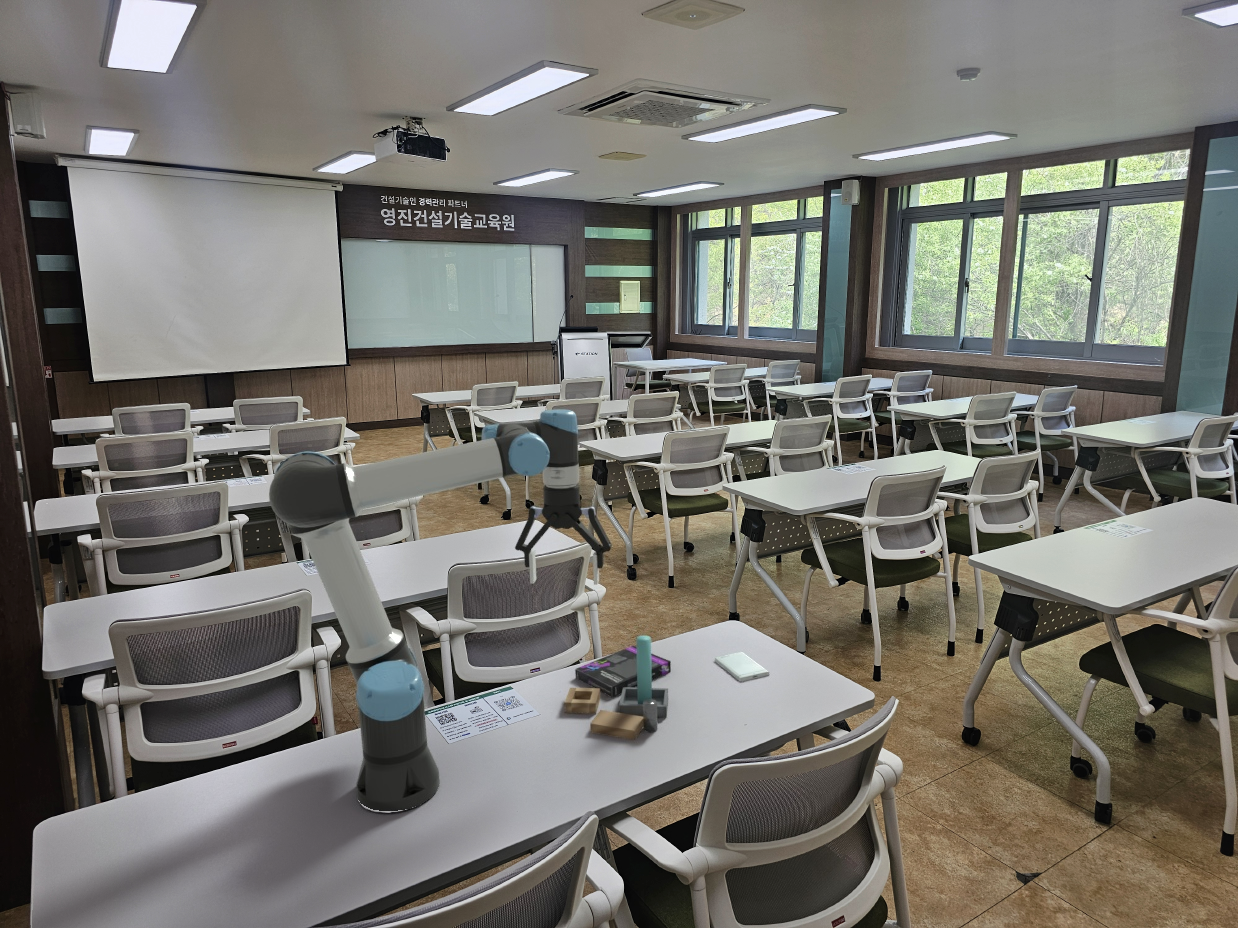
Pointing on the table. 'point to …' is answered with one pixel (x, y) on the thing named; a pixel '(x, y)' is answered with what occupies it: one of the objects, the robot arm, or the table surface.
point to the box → (619, 671)
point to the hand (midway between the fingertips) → (564, 582)
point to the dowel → (644, 668)
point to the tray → (633, 708)
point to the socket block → (582, 700)
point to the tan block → (617, 724)
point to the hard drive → (741, 666)
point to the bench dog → (650, 715)
